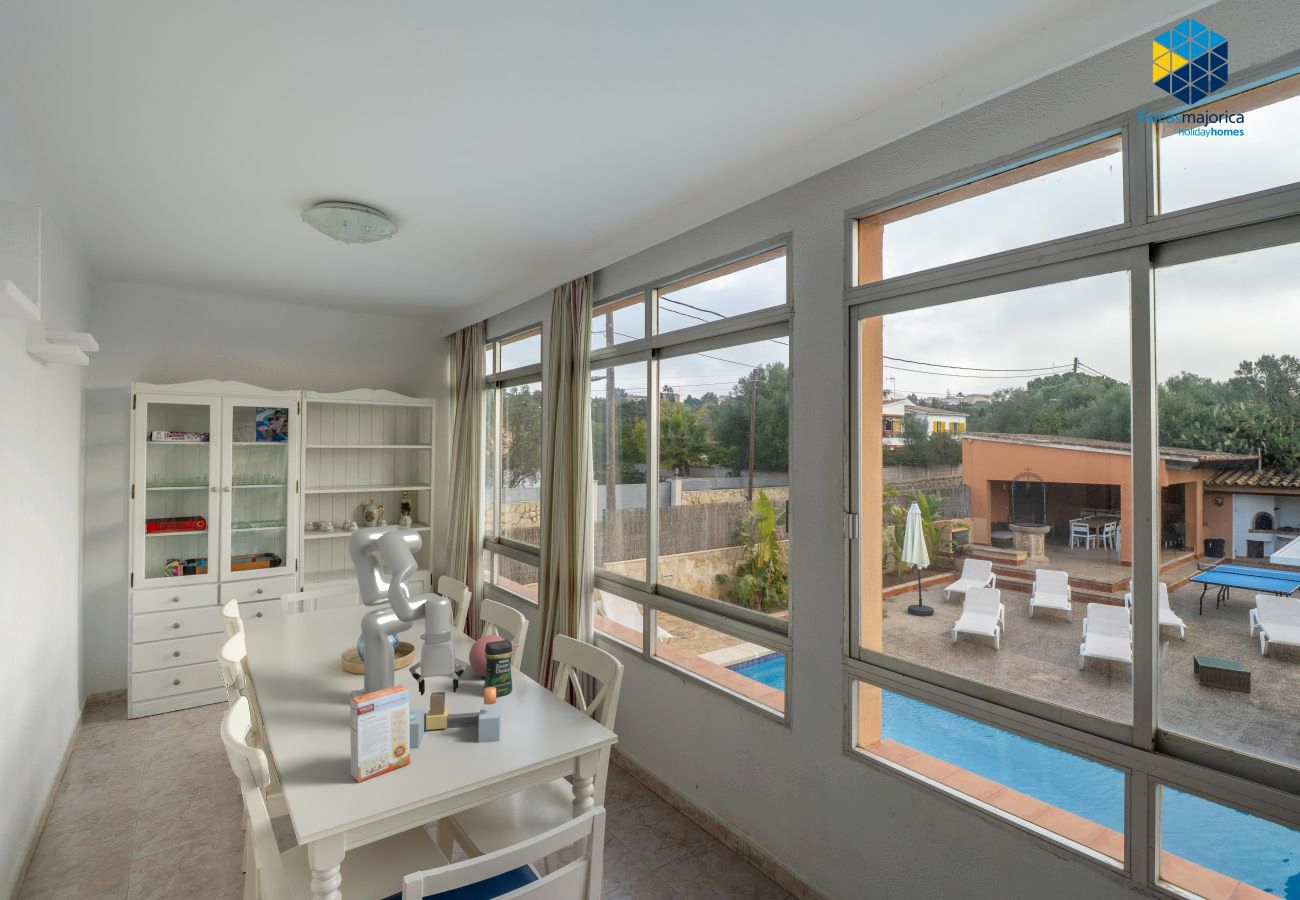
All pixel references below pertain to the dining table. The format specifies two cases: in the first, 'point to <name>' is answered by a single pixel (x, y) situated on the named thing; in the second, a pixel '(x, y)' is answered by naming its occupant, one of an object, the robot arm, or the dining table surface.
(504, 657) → the coffee jar
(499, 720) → the cabinet far
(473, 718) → the rail
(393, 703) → the cracker box
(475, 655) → the pink rounded piece
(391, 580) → the robot arm
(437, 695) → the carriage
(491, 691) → the orange rounded cube
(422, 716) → the cabinet near
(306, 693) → the dining table surface
